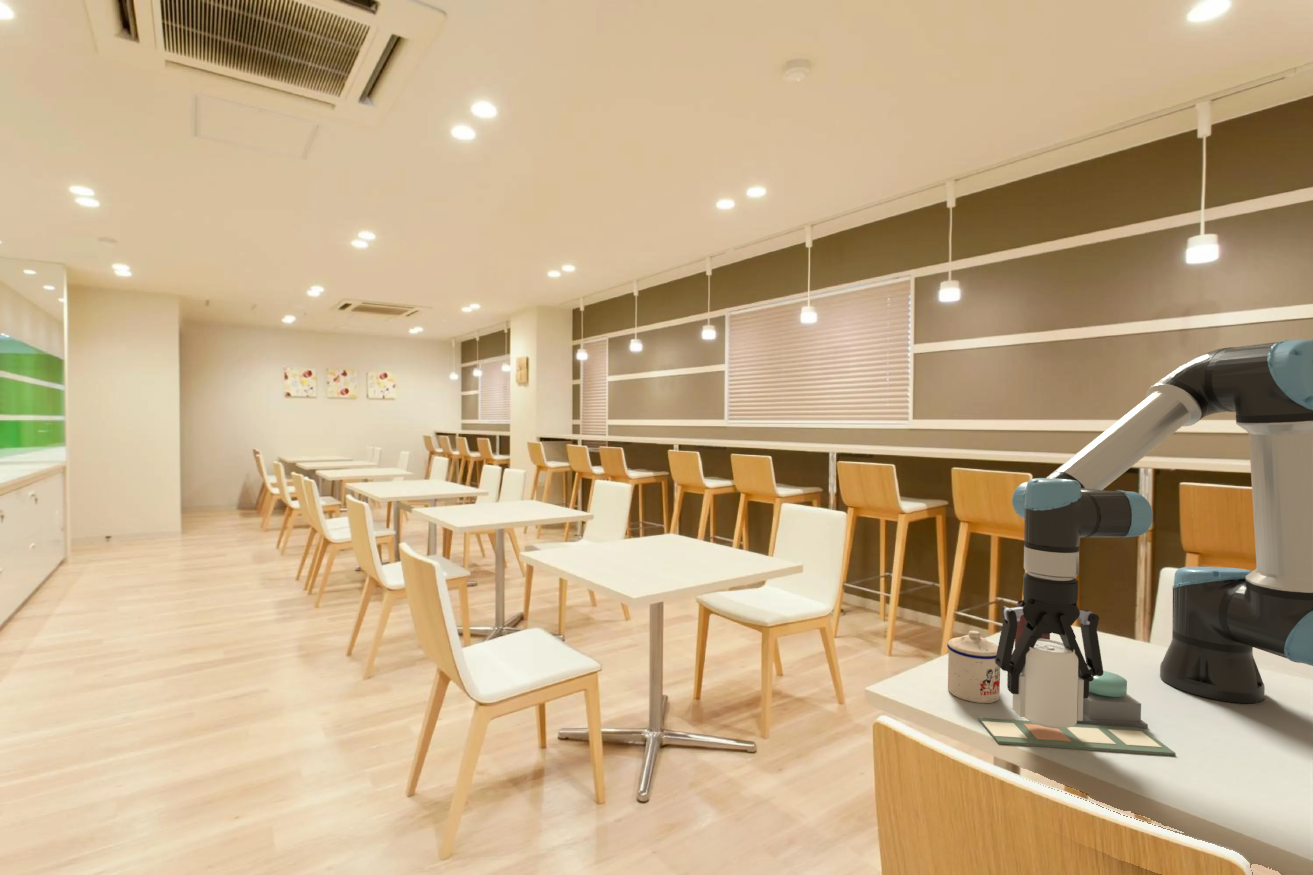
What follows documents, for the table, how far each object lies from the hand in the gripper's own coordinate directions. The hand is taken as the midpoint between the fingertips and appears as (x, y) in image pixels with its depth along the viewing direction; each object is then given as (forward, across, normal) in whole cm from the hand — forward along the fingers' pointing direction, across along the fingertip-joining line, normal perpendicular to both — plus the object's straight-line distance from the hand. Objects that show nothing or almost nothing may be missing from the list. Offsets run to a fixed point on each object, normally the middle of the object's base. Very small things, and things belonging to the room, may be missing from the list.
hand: (1046, 714), depth 102 cm
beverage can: (+1, 0, 0) cm, 1 cm away
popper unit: (+3, -11, -10) cm, 15 cm away
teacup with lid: (+4, +5, -16) cm, 17 cm away
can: (+4, -10, -28) cm, 30 cm away
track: (+3, -4, 0) cm, 5 cm away
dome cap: (+2, -13, -10) cm, 17 cm away
